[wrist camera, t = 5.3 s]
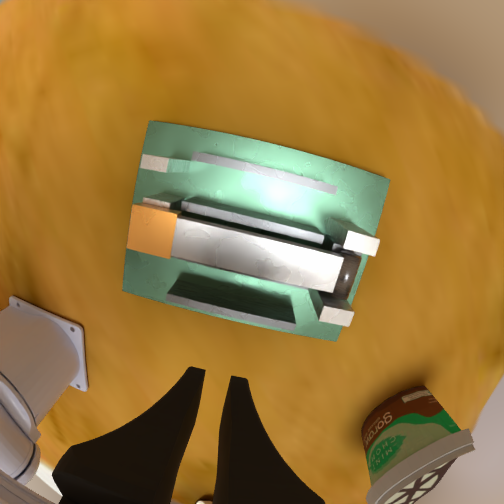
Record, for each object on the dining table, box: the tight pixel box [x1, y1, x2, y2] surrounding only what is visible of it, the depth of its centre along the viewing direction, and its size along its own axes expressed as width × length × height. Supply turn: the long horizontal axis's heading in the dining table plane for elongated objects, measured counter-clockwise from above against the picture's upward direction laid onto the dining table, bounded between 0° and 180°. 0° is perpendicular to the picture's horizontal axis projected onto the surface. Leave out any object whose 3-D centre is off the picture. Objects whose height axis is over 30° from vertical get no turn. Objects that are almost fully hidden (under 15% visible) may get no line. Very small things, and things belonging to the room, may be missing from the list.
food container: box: [362, 386, 475, 504], centre depth 20 cm, size 12×6×10 cm, turn 171°
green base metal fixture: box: [122, 121, 390, 342], centre depth 17 cm, size 16×12×6 cm
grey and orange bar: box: [127, 202, 362, 300], centre depth 16 cm, size 12×2×1 cm, turn 77°
